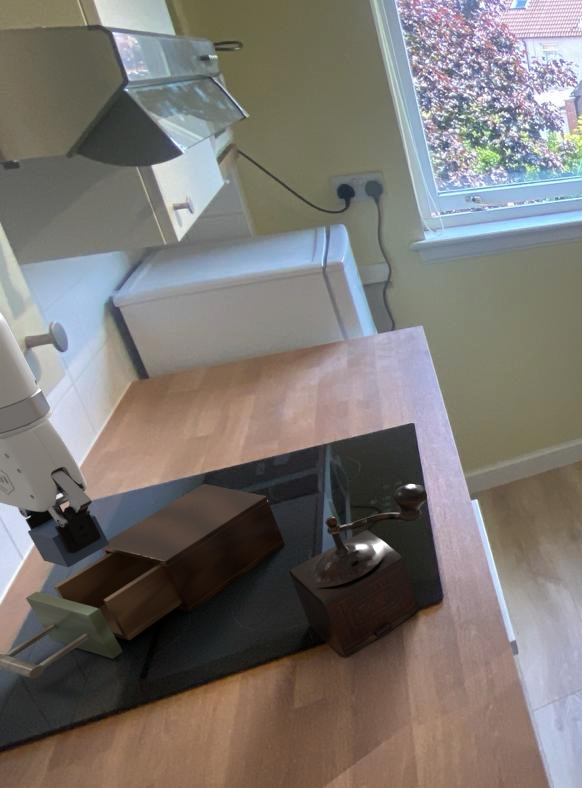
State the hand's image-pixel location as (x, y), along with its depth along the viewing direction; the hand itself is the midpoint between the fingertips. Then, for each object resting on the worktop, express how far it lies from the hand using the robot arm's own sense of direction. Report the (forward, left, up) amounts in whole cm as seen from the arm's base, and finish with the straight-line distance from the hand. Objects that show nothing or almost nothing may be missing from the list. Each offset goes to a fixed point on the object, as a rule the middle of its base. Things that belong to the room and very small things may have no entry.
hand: (70, 540), depth 90 cm
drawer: (-1, +1, -15) cm, 15 cm away
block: (0, 0, -2) cm, 2 cm away
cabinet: (+8, +11, -16) cm, 21 cm away
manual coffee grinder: (+31, -11, -16) cm, 37 cm away
